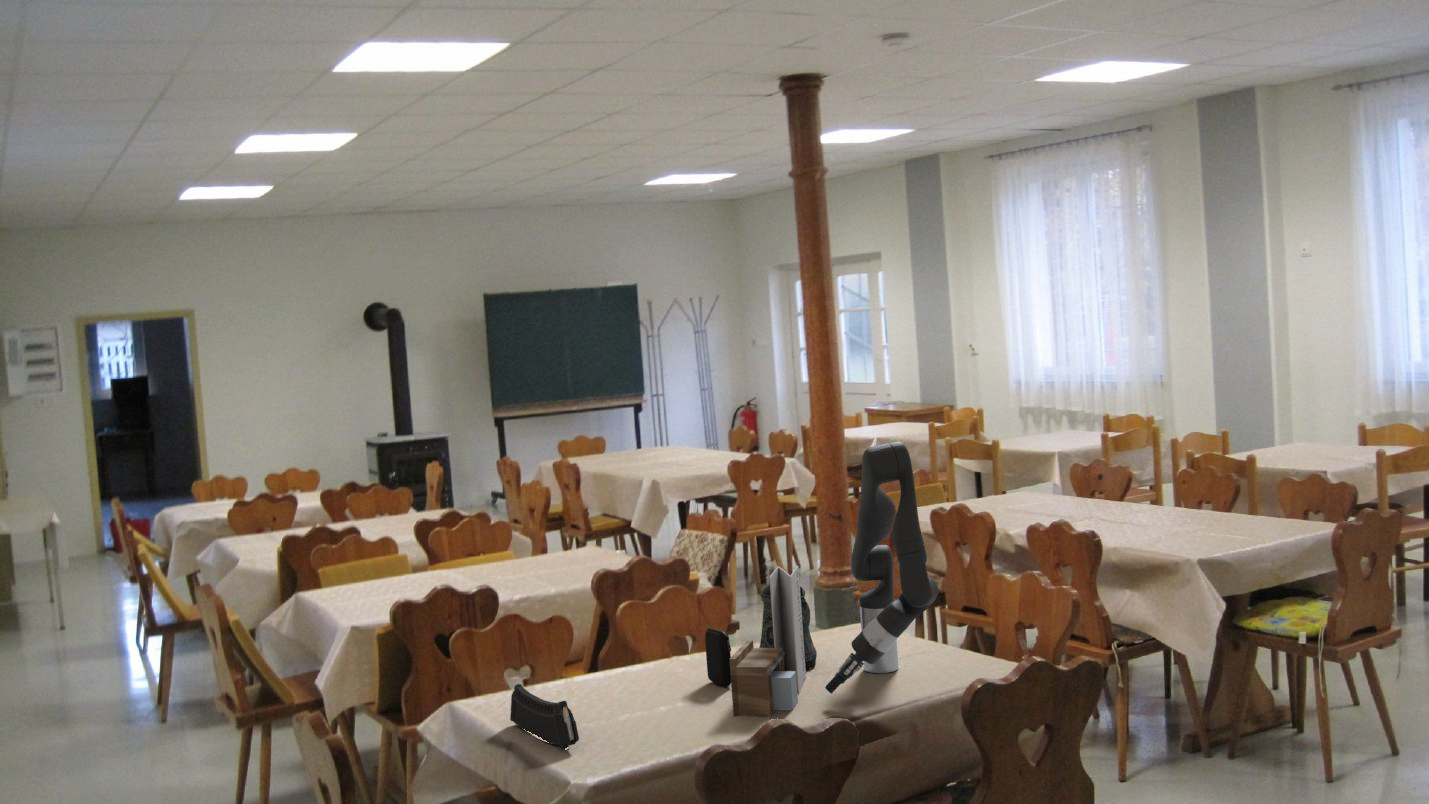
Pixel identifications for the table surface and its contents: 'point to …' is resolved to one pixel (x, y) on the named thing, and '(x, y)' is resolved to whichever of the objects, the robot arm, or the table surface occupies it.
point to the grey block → (784, 690)
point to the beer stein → (809, 648)
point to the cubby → (754, 679)
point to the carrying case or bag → (718, 657)
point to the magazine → (543, 717)
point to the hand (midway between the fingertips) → (828, 690)
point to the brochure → (788, 621)
